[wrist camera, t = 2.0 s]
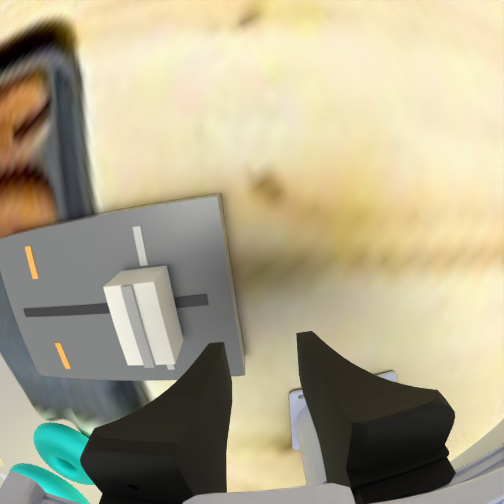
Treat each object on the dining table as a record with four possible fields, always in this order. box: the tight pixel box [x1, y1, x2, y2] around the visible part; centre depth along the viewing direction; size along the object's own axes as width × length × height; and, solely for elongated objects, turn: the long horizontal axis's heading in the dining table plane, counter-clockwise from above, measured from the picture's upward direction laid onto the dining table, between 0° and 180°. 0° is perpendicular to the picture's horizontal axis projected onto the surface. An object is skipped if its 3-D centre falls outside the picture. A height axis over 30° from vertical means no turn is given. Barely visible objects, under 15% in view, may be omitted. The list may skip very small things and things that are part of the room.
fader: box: [103, 265, 184, 368], centre depth 17 cm, size 3×5×3 cm, turn 7°
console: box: [0, 193, 245, 380], centre depth 20 cm, size 18×12×3 cm, turn 97°
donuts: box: [9, 423, 95, 504], centre depth 21 cm, size 10×10×10 cm
